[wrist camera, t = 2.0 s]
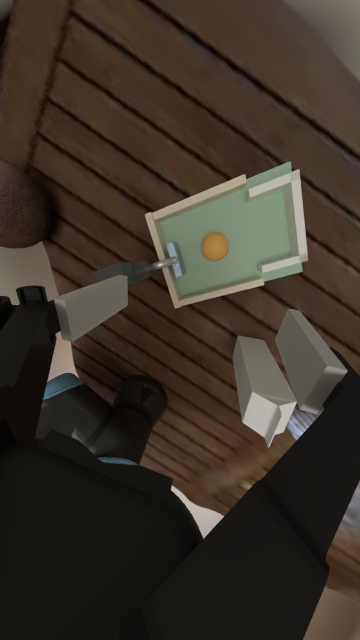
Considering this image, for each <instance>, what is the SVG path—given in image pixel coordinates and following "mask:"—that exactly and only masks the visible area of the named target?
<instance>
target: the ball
mask: <svg viewBox="0 0 360 640" xmlns="http://www.w3.org/2000/svg"><path fill="white" fill-rule="evenodd" d="M228 250H229V242H228V240H227V238H226V237H225V235H223V234H222V233H219V232H213V233H210V234H209V235H207V236H206V237H205V238H204V240H203V242H202V245H201V251H202V254H203V256H204V257H205V258H206V259H207V260H209V261H213V262H215V261H219V260H221V259H223V258H224V257H225V256H226V254H227V253H228Z"/></svg>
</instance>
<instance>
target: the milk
mask: <svg viewBox="0 0 360 640" xmlns="http://www.w3.org/2000/svg"><path fill="white" fill-rule="evenodd" d="M232 358H233V364H234V371H235V377H236V384H237V391H238V397H239V404H240V410H241V417H242V422H243V423H244V424H246V425H247V426H249V427H250V428H251V429H253V430H254V431H256V432H257V433H259V434H260V435H262V436H263V437H265V440H266V443H267V446H268V447H269V446H270V444H271V442H272V439H273V437H274V435H276V434H279V433H282V432H284V429H285V427H286V425H287V423H288V421H289V418H290V416H291V414H292V412H293V410H294V407H295V405H296V403H297V400H296V398H295V396H294V395H293V393H292V391H291V389H290V387H289V385H288V383H287V382H286V380H285V378H284V376H283V374H282V372H281V371H280V369H279V367H278V365H277V363H276V361H275V360H274V358H273V356H272V354H271V352H270V350H269V349H268V347H267V345H266V343H265V341H264V340H261V339H255V338H250V337H244V336H238V337H237V341H236V344H235V348H234V352H233V356H232Z"/></svg>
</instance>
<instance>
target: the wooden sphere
mask: <svg viewBox="0 0 360 640" xmlns="http://www.w3.org/2000/svg"><path fill="white" fill-rule="evenodd" d="M51 220H52V217H51V210H50V206H49V203H48V201H47V199H46V197H45V195H44V193H43V192H42V190H41V189H40V187H39V186H38V185H37V184H36V183H35V181H34V180H33V179H32V178H31V177H30V176H28V175H27V174H26V173H25V172H24V171H22V170H21V169H20V168H18V167H17V166H15V165H13V164H12V163H10V162H8V161H6V160H4V159H1V158H0V246H1V247H6V248H25V247H30V246H33V245H35V244H37V243H39V242H40V241H42V240H43V239H44V238H45V237H46V235H47V234H48V232H49V230H50V227H51Z"/></svg>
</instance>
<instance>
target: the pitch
mask: <svg viewBox="0 0 360 640" xmlns="http://www.w3.org/2000/svg"><path fill="white" fill-rule="evenodd" d="M145 217H146V220H147V223H148V227H149V230H150V233H151V236H152V239H153V242H154V245H155V248H156V251H157V254H158V258H159V261H161V260H164V259H167V258H170V255H169V251H168V248H167V245H166V244H169V243H171V242H174V243H178V246H179V250H180V253H181V257H182V260H183V264H184V267H185V270H186V273H185V274H184V275H182V276H179V277H176V274H175V271H174V268H173V265H171V266H168V267H165V268H162V270H163V273H164V276H165V279H166V282H167V285H168V289H169V292H170V295H171V298H172V301H173V304H174V307H175V308H179V307H181V306H183V305H187V304H191V303H195V302H199V301H203V300H207V299H211V298H215V297H219V296H222V295H226V294H230V293H234V292H238V291H242V290H246V289H250V288H254V287H258V286H262V285H264V281H268V280H272V279H276V278H280V277H283V276H287V275H291V274H295V273H299V272H302V263H301V262H304V261H308V255H307V245H306V234H305V224H304V214H303V204H302V193H301V183H300V173H299V169H298V170H296V171H293V172H292V170H291V161H290V162H287V163H285V164H283V165H280V166H278V167H275V168H273V169H270V170H268V171H266V172H263V173H261V174H258V175H256V176H253V177H251V178H249V179H246V176H245V174H244V175H242V176H239V177H237V178H234V179H232V180H230V181H227V182H225V183H222V184H220V185H218V186H215V187H213V188H211V189H208V190H206V191H203V192H201V193H199V194H196V195H194V196H191V197H189V198H187V199H184V200H182V201H180V202H177V203H175V204H172V205H170V206H168V207H165V208H163V209H160V210H158V211H156V212H153V213H151V212H150V213H147V214H145ZM213 232H219V233H222V234H223V235H225V237H226V238H227V240H228V242H229V250H228V253H227V254H226V256H225V257H224V258H223V259H221V260H219V261H215V262H213V261H209V260H207V259H206V258H205V257H204V256H203V254H202V251H201V245H202V242H203V240H204V238H205V237H206V236H207V235H209V234H210V233H213Z"/></svg>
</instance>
